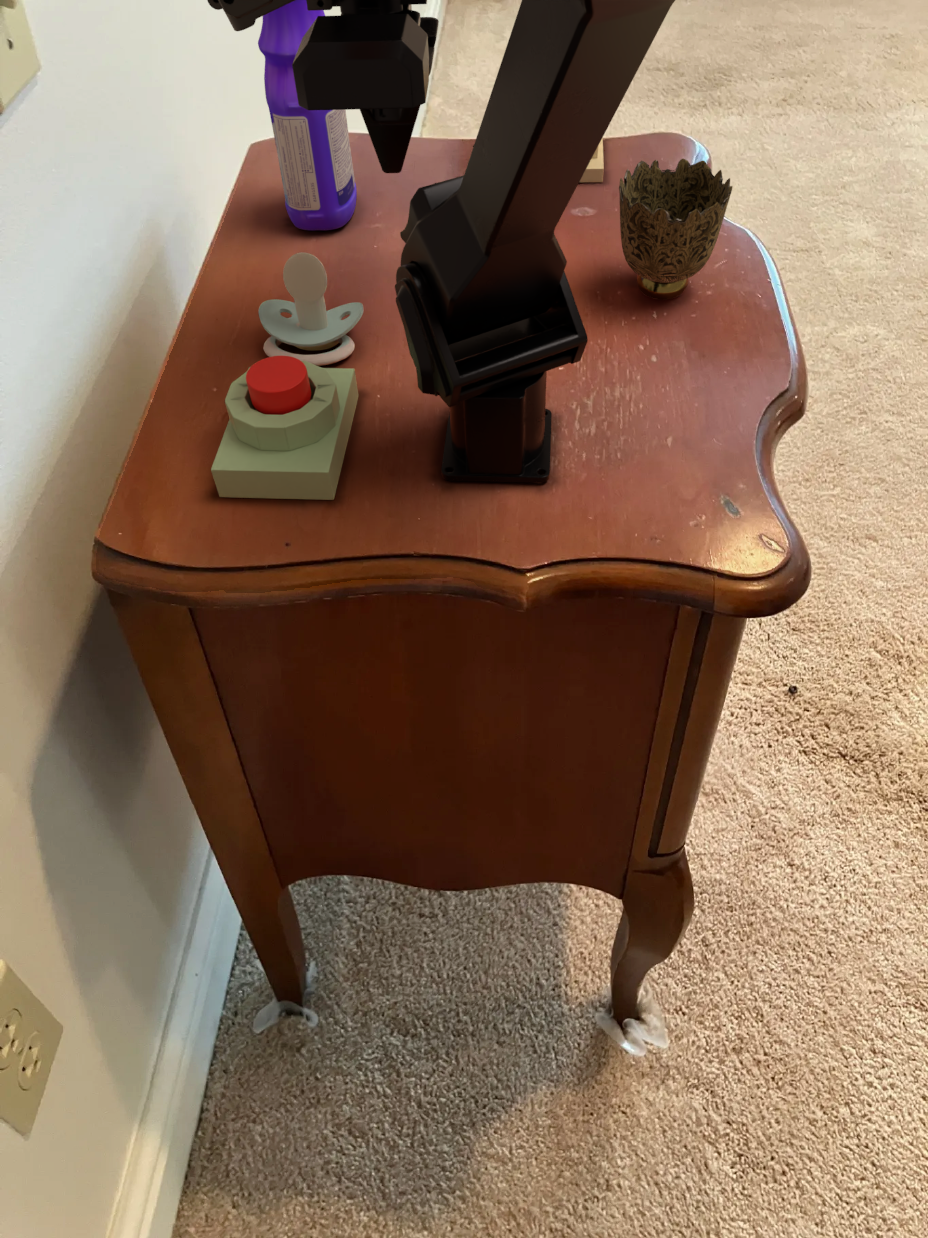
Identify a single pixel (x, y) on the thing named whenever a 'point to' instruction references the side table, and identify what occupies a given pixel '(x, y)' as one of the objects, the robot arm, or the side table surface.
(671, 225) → the cup
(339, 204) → the bottle
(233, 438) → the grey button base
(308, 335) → the pacifier
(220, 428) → the side table surface
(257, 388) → the alarm button
